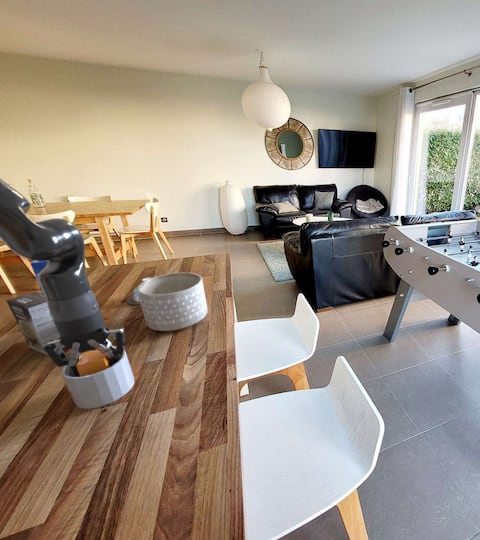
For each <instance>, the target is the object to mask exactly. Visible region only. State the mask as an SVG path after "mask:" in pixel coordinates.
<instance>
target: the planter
mask: <svg viewBox="0 0 480 540" xmlns="http://www.w3.org/2000/svg"><path fill="white" fill-rule="evenodd" d="M150 278H151V279H148V280H146V281H144V282H143V281H141V283H140V284H138V286H136V288H137V292H138V296H139V299H140V303H141V305H140V307H141V311H142V313H143V317H144V321H145V324H146V326H147V328H149V329H151V330H154V331H159V332H174V331H180V330H184V329H187V328H190V327H191V326H194V325H196V324H197V323H198V322H200V321H202V320H203V319H204V318H205V317H206V316H207V314H208V312H209V311H208V304H207V299H206V298H207V297H206V293H205V288H204V282H203V278H202V276H201V275H200V274H197V273H195V272H194V273H193V272H172V273H166V274H161V275H160V274H159V275H156V276H153V277H150Z"/></svg>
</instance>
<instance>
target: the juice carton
mask: <svg viewBox="0 0 480 540" xmlns="http://www.w3.org/2000/svg"><path fill="white" fill-rule="evenodd" d="M81 354H82V356H81V358H80V359H79V361H78V363H77V364H76V367H77V369H78V372H79V374H80V377H84V376H88V375H93V374H95V373H98V372H101V371H103V370H105V369H107V368H109V367H111V365H110V363H109V360H108V359H109V357H108V356H106V355H105V354H104V353H101V352H99V351H98V350H94V351H89V352H88V351H87V352H83V353H81Z"/></svg>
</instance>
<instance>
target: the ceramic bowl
mask: <svg viewBox="0 0 480 540" xmlns="http://www.w3.org/2000/svg"><path fill="white" fill-rule="evenodd" d="M113 346H114V347H115V348H116V347H117V346H115V345H113ZM91 351H94V350H91ZM87 352H89V351H87ZM82 354H83V353H80V357H79V359H80V358H81V356H82ZM118 356H119V359H120V360H119V361H118V362H117V363H115V364H114V365H113V366H111V367H109V368H107V369H105V370H103V371H101V372H98V373H95V374H93V375H88V376H84V377H78V376H77V377H76V376H75V375H74V373H73V371H72V368H71V367H70V366H68V365H64V366H63V368H62V369H61V377H62V378H63V381H64V383H65V385H66V387H67V388H66V389H68V392H69V395H70V397H71V399H72V401H73V403H74V405H75V406H76V407H77V408H79V409H82V410H92V409H97V408H98V409H99V408H101V407H104V406H107V405H109V404H112V403H114V402H116V401H118V400H119V399H121V398H123V397H124V396H125V395H127V393H128V392H130V391H131V390H132V388H133V387H134V385H135V382H136V381H135V376H134V374H133V370H132V367H131V364H130V361H129V358H128V355H127V352H126V350H125V349H124V351H123V353H122V354H118Z"/></svg>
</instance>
